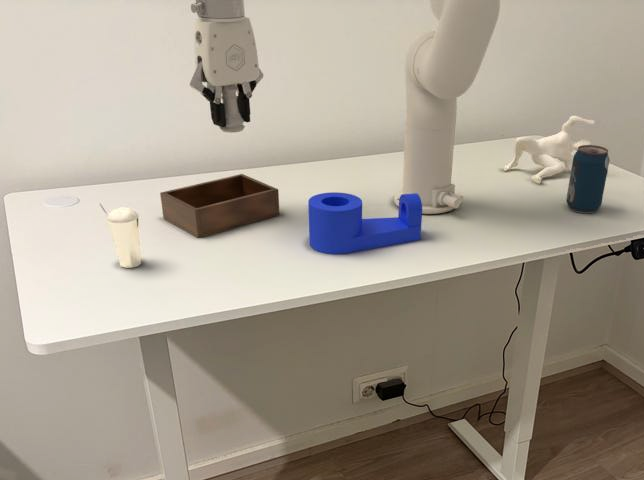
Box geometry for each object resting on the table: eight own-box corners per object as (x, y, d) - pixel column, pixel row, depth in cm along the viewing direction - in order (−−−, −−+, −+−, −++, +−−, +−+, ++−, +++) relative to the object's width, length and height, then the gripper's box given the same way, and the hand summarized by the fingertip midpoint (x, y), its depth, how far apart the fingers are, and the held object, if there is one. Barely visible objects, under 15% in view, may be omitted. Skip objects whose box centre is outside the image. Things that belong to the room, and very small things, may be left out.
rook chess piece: (248, 127, 132) (244, 80, 127) (241, 133, 128) (237, 85, 124) (223, 125, 132) (219, 79, 128) (216, 132, 128) (211, 84, 124)
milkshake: (114, 258, 119) (103, 198, 113) (148, 258, 119) (139, 198, 114) (107, 269, 115) (95, 208, 110) (142, 269, 115) (132, 209, 110)
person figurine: (532, 134, 153) (595, 110, 160) (495, 133, 164) (555, 111, 171) (541, 194, 159) (601, 169, 166) (504, 189, 169) (562, 166, 176)
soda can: (606, 209, 148) (618, 149, 142) (588, 217, 144) (599, 156, 137) (576, 200, 152) (586, 142, 146) (558, 207, 148) (568, 148, 141)
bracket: (317, 256, 122) (316, 213, 118) (303, 236, 130) (302, 194, 126) (425, 244, 129) (428, 202, 125) (406, 225, 136) (408, 185, 132)
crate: (243, 198, 145) (242, 173, 142) (279, 214, 138) (278, 189, 135) (163, 219, 134) (159, 192, 131) (198, 237, 127) (195, 210, 124)
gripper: (188, 16, 112) (202, 136, 122) (276, 8, 123) (283, 119, 132) (162, 10, 117) (178, 127, 126) (249, 3, 127) (258, 111, 137)
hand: (231, 122), depth 129 cm, fingers closed on rook chess piece, 4 cm apart
